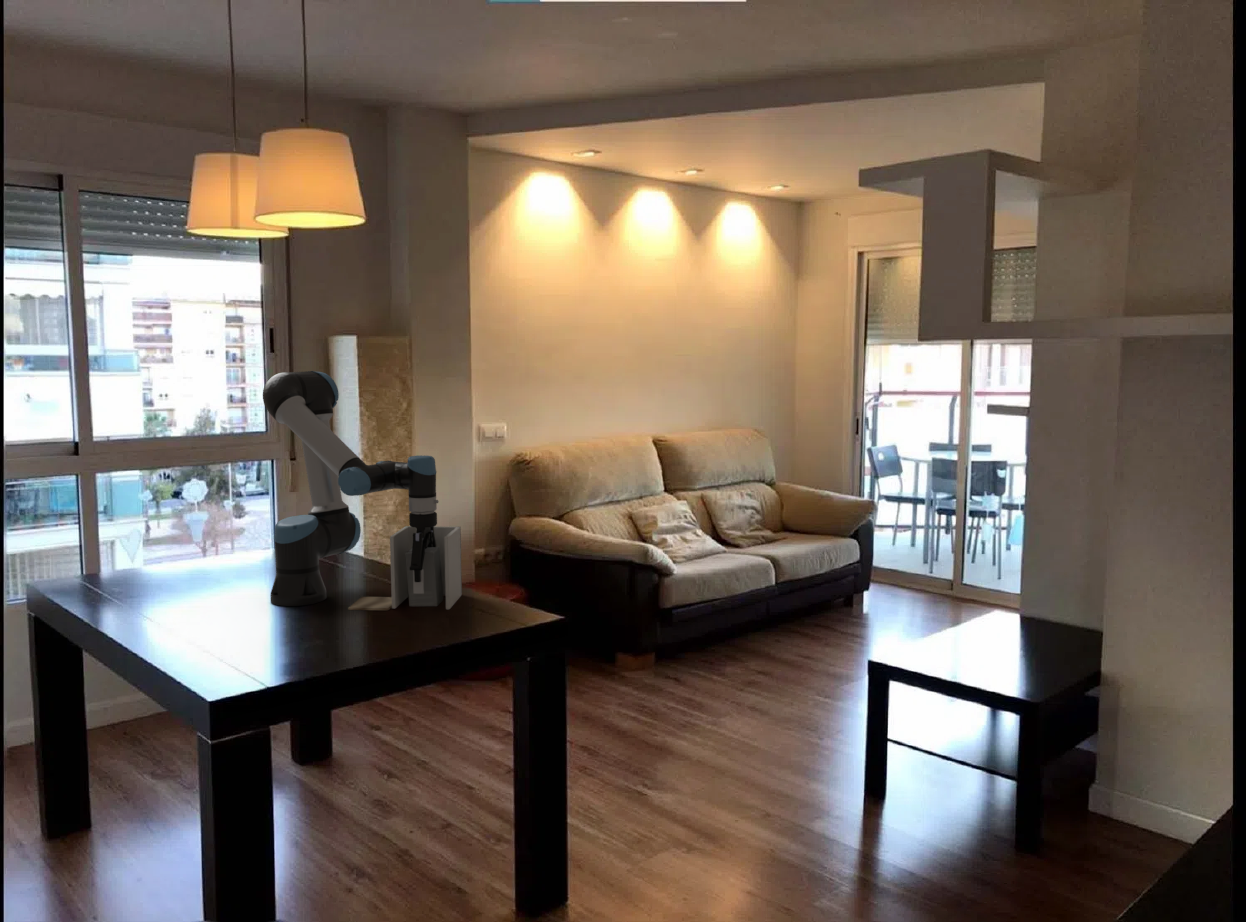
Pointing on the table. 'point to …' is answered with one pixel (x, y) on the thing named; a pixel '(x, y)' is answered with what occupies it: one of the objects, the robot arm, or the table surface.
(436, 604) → the skincare box
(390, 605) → the cork coaster
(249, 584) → the table surface
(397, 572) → the shelf bay
